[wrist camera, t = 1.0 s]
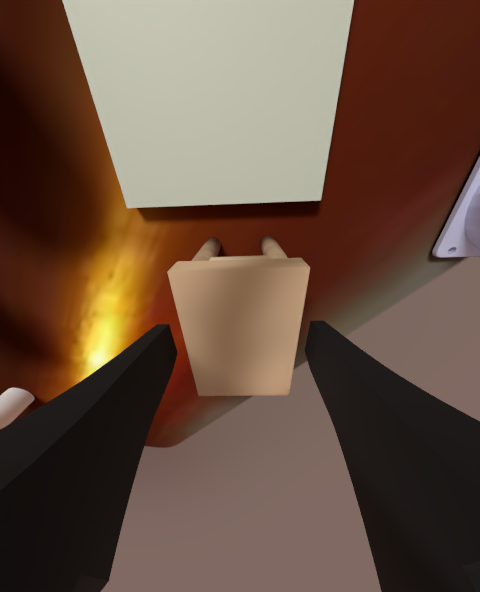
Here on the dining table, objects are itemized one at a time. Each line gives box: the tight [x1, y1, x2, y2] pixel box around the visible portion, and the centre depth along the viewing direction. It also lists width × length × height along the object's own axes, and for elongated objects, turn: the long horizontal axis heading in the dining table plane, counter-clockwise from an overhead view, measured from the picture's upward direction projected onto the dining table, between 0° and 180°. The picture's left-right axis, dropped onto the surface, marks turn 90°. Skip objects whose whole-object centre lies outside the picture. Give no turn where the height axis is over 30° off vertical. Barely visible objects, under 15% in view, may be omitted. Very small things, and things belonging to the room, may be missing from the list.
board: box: [62, 0, 354, 208], centre depth 9 cm, size 12×10×1 cm
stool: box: [168, 236, 310, 396], centre depth 12 cm, size 5×8×7 cm
